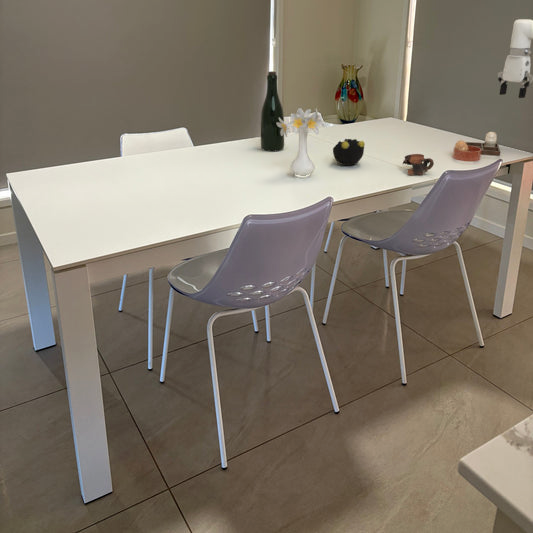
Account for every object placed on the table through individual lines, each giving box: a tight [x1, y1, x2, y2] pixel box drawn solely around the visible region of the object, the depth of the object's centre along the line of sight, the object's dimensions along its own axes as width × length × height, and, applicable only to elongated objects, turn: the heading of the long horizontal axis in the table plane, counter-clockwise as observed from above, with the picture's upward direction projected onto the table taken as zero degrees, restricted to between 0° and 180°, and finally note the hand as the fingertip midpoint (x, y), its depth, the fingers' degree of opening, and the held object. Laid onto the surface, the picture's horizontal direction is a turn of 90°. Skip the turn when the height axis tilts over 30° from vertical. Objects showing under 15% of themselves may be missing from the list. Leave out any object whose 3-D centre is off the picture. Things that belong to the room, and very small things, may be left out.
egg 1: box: [454, 140, 470, 152], centre depth 242 cm, size 5×5×8 cm
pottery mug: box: [402, 153, 435, 176], centre depth 226 cm, size 12×10×8 cm
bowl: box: [452, 146, 482, 162], centre depth 242 cm, size 11×11×4 cm
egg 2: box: [484, 131, 498, 147], centre depth 254 cm, size 5×5×8 cm
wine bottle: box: [260, 70, 285, 152], centre depth 255 cm, size 10×10×33 cm
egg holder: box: [465, 141, 501, 157], centre depth 253 cm, size 14×14×2 cm
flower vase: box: [276, 107, 326, 179], centre depth 218 cm, size 13×18×25 cm
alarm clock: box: [332, 138, 366, 166], centre depth 236 cm, size 12×15×15 cm
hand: (512, 96), depth 245 cm, fingers open, 9 cm apart
